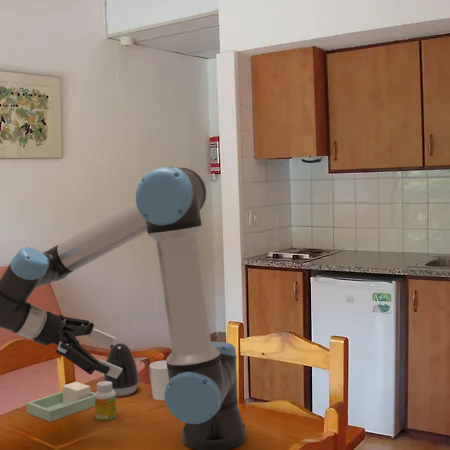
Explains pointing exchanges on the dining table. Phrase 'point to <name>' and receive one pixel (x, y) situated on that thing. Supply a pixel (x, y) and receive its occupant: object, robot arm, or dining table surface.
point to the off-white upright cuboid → (75, 392)
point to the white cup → (159, 379)
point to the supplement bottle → (105, 401)
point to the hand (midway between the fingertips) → (116, 357)
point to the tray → (58, 406)
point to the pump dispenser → (123, 370)
